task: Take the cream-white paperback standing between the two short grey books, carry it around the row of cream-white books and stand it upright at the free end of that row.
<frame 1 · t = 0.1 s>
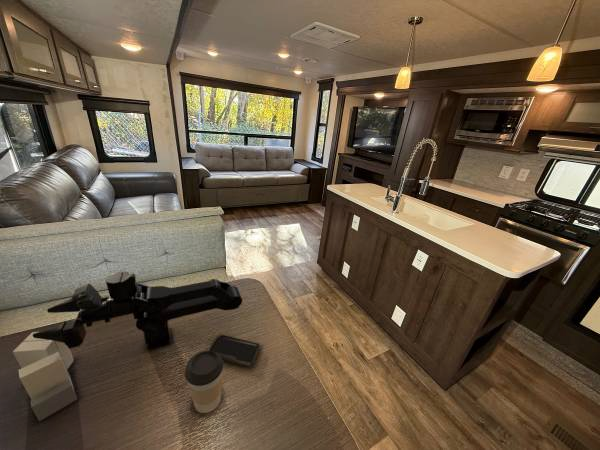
hand: (40, 322, 65), 17 cm above the table, tool horizontal, fingers open, 9 cm apart
white books: (45, 356, 67), on the table
phone: (234, 351, 81), on the table
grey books: (55, 395, 64), on the table
coffee cup: (207, 399, 67), on the table
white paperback: (55, 395, 64), on the table
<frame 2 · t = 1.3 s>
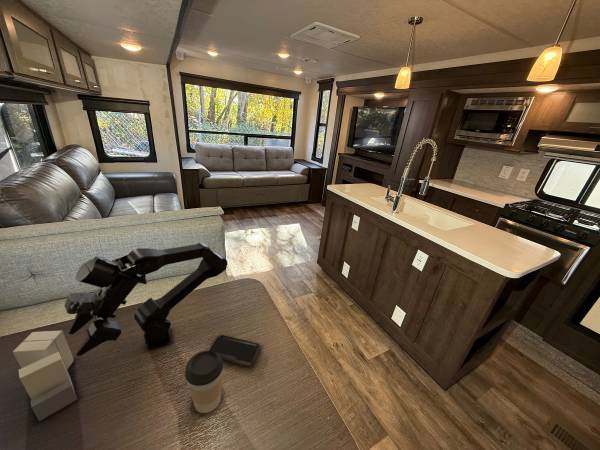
hand: (74, 344, 64), 13 cm above the table, tool tilted 45°, fingers open, 9 cm apart
nothing on the table moved.
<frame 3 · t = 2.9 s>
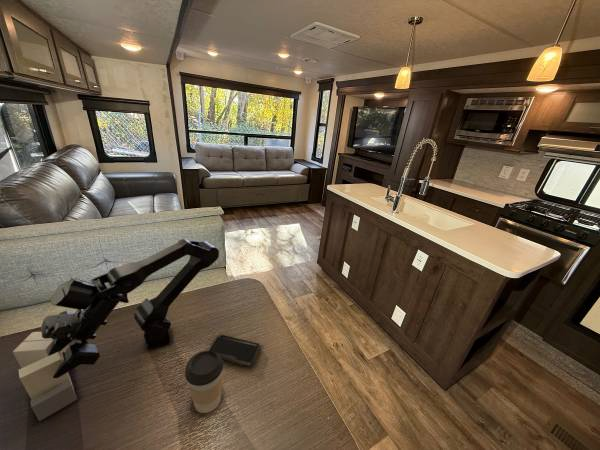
hand: (52, 366, 62), 9 cm above the table, tool tilted 45°, fingers open, 8 cm apart
nothing on the table moved.
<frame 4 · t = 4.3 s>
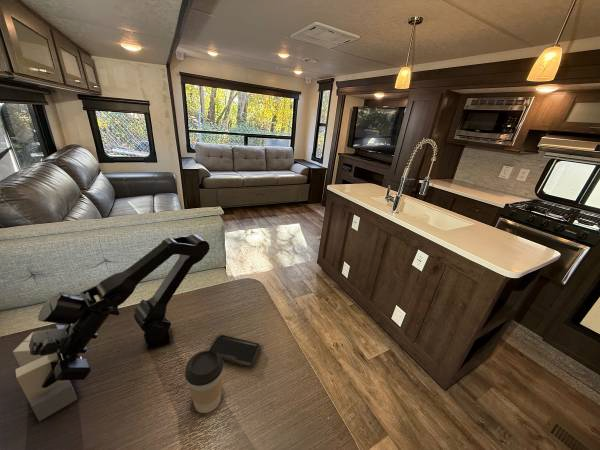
hand: (43, 382, 61), 6 cm above the table, tool tilted 45°, fingers closed on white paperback, 3 cm apart
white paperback: (52, 396, 64), on the table, touching gripper
everything else where it was.
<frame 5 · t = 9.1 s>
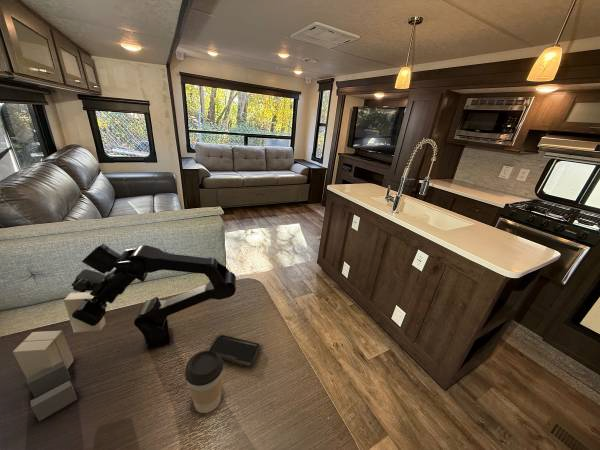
hand: (84, 312, 73), 13 cm above the table, tool tilted 45°, fingers closed on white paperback, 3 cm apart
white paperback: (90, 327, 75), point 8 cm above the table, touching gripper
everything else where it was.
when the fingers open (6 cm above the table, at t = 13.7 s): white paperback stays where it is, on the table.
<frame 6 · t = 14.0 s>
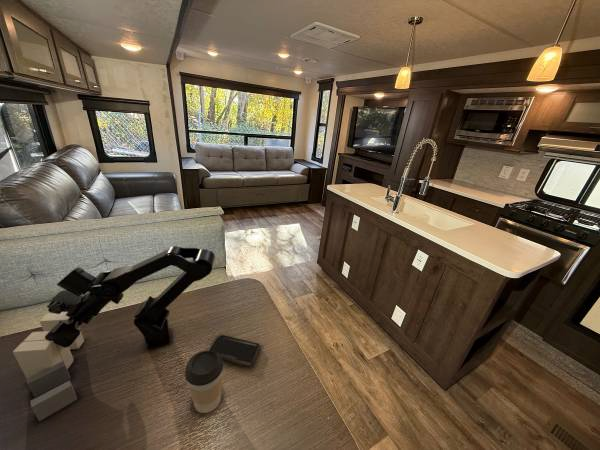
hand: (63, 331, 75), 6 cm above the table, tool tilted 45°, fingers open, 4 cm apart
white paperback: (68, 345, 77), on the table
everything else where it was.
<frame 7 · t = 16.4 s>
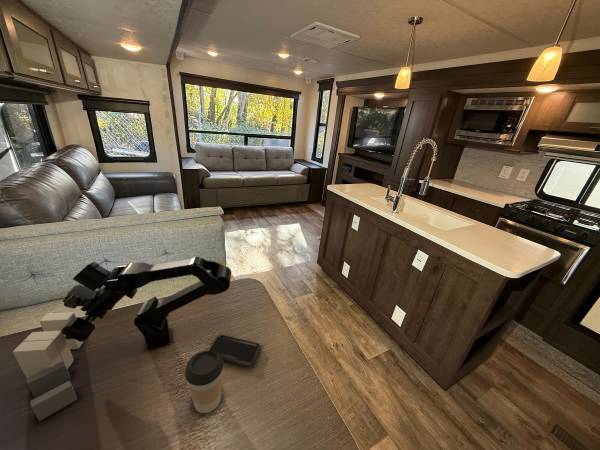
hand: (77, 326, 75), 8 cm above the table, tool tilted 45°, fingers open, 9 cm apart
nothing on the table moved.
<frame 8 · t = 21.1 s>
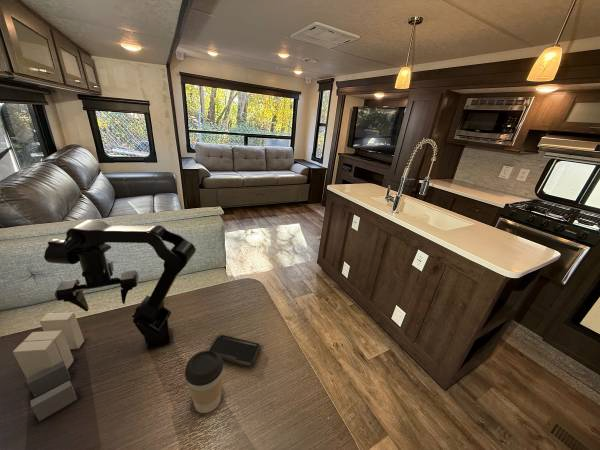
hand: (106, 306, 76), 13 cm above the table, tool pointing down, fingers open, 9 cm apart
nothing on the table moved.
at the end: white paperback 1.1 cm from the white books (horizontally); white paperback tilted 0°; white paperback on the table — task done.
